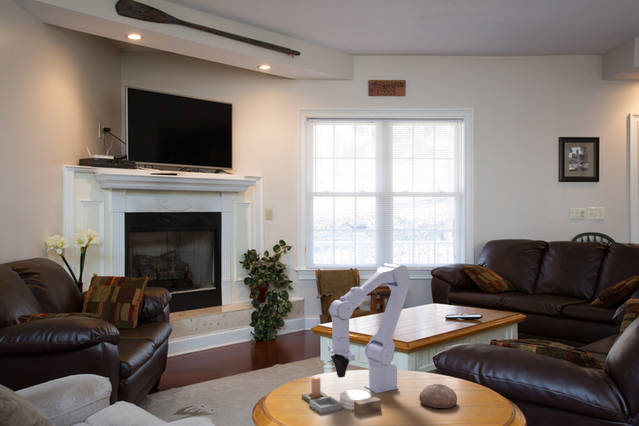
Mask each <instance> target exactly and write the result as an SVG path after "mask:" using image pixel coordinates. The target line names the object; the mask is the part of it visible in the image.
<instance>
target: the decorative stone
mask: <svg viewBox="0 0 639 426" xmlns="http://www.w3.org/2000/svg"><path fill="white" fill-rule="evenodd" d="M418 397H419V399H418V400H419V402H420V403H421V404H423V405H424V406H427V407H430V408H442V409H446V408H451V407H454V406H455V405H456V404H457V401H458V395H457V393H456V392H455V390H453V389H452V388H451V387H449V386H447V385H445V384H443V383H433V384H430V385H428V386H426V387H425V388H423V389H422V390H421V392H420V393H419V396H418Z"/></svg>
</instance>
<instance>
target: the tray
mask: <svg viewBox="0 0 639 426" xmlns="http://www.w3.org/2000/svg"><path fill="white" fill-rule="evenodd" d="M309 407H310V408H311V409H313V410H314V411H315V412H317V413H319V414H320V415H322V414H323V415H324V414H328V413H333V412H338V411H343V407H342V403H340V400H337V399H335V398H334V397H332V396H329V397H325V398H319V399H314V400H310V403H309Z"/></svg>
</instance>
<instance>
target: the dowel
mask: <svg viewBox="0 0 639 426" xmlns="http://www.w3.org/2000/svg"><path fill="white" fill-rule="evenodd" d="M310 387H311V392H310V393H311V398H313V399H315V398H320V397H321V392H322V391H321V377H320V376H313V377H311V386H310Z"/></svg>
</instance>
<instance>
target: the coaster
mask: <svg viewBox="0 0 639 426" xmlns="http://www.w3.org/2000/svg"><path fill="white" fill-rule="evenodd" d="M368 398H372V395H371V394H370V393H369V392H367V391H365V390H361V389H349V390H344V391H342V392H341V393H340V395H339V402H340V403H342V409H346V410H349V411H350V410H353V411H354V401H358V400H363V399H368Z"/></svg>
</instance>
